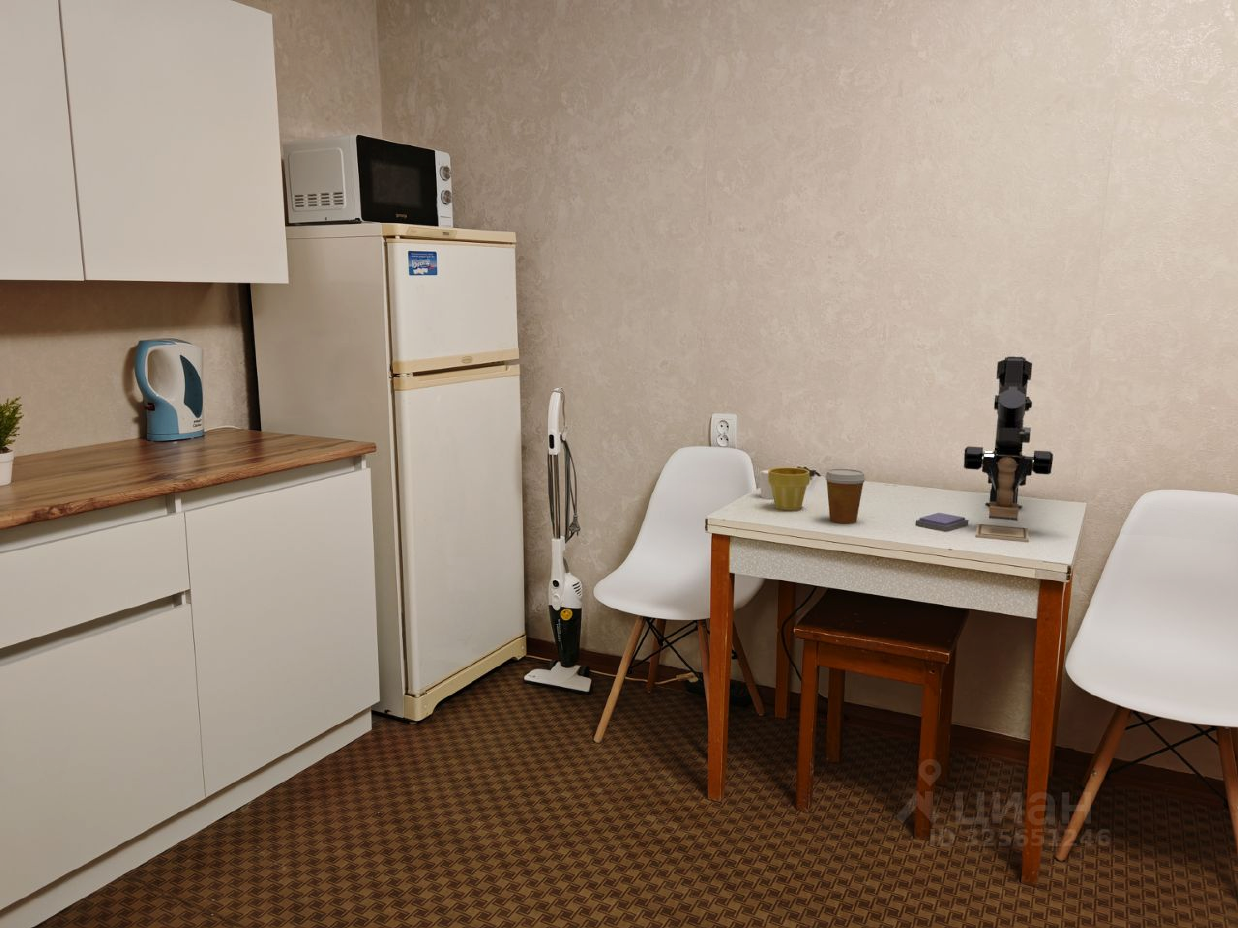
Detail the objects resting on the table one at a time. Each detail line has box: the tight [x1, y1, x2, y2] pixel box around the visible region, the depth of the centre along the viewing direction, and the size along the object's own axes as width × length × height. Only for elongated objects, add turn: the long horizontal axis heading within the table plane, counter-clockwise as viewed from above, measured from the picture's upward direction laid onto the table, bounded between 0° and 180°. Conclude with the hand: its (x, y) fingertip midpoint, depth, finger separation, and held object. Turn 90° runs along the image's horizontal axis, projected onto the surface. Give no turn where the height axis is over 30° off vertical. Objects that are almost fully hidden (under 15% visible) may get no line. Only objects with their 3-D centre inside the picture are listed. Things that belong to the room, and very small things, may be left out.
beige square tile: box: [975, 523, 1030, 543], centre depth 215 cm, size 11×11×1 cm
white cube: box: [759, 469, 774, 500], centre depth 253 cm, size 7×7×7 cm
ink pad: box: [915, 512, 970, 532], centre depth 222 cm, size 10×8×2 cm
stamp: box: [988, 457, 1019, 522], centre depth 213 cm, size 6×6×14 cm
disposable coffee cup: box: [824, 468, 866, 525], centre depth 226 cm, size 10×10×12 cm
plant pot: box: [768, 466, 811, 512], centre depth 239 cm, size 10×10×10 cm
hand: (1005, 490), depth 212 cm, fingers closed on stamp, 3 cm apart
